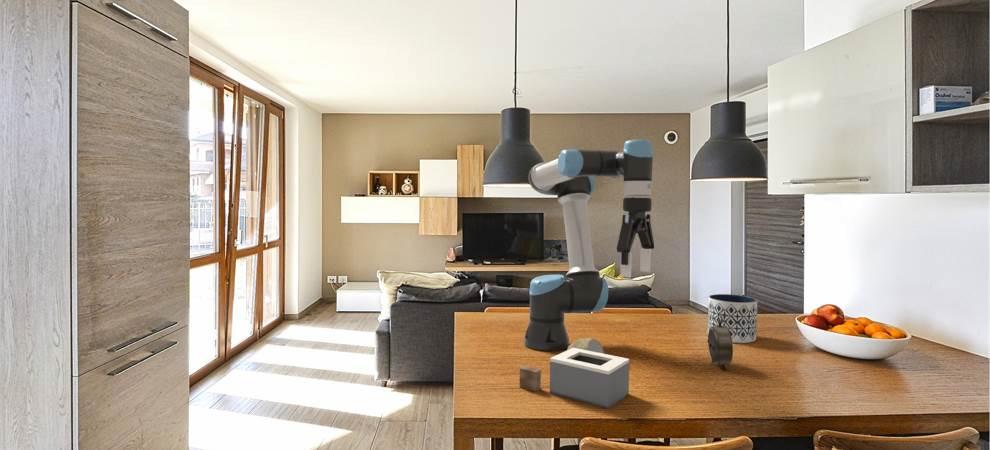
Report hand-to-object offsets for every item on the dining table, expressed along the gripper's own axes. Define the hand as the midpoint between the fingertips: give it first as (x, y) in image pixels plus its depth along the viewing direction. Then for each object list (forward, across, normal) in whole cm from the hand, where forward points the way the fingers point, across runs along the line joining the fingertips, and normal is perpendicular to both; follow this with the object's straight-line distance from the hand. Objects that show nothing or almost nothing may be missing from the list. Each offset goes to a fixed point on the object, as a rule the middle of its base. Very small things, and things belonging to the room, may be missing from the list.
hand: (635, 274), depth 142 cm
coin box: (+29, -19, +4) cm, 35 cm away
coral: (+29, -2, +14) cm, 32 cm away
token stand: (+29, -25, +18) cm, 42 cm away
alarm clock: (+29, +25, -16) cm, 41 cm away
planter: (+29, +62, -11) cm, 69 cm away
